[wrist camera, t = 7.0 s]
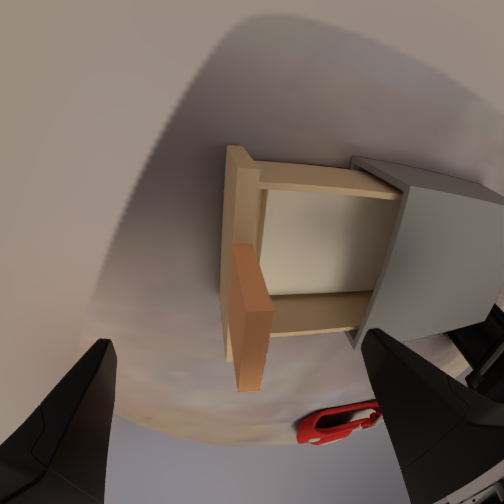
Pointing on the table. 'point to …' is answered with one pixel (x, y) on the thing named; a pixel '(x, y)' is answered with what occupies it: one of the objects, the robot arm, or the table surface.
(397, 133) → the table surface
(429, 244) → the sleeve
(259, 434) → the table surface
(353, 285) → the beige open box
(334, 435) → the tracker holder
